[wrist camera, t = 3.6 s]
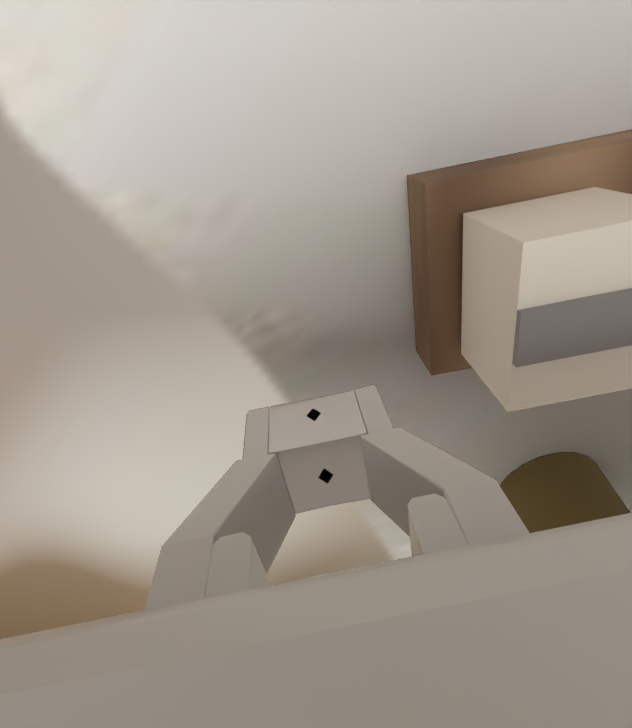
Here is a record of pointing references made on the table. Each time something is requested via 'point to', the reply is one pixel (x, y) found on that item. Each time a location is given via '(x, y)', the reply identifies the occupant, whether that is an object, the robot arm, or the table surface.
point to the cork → (561, 492)
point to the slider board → (481, 191)
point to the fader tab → (549, 297)
